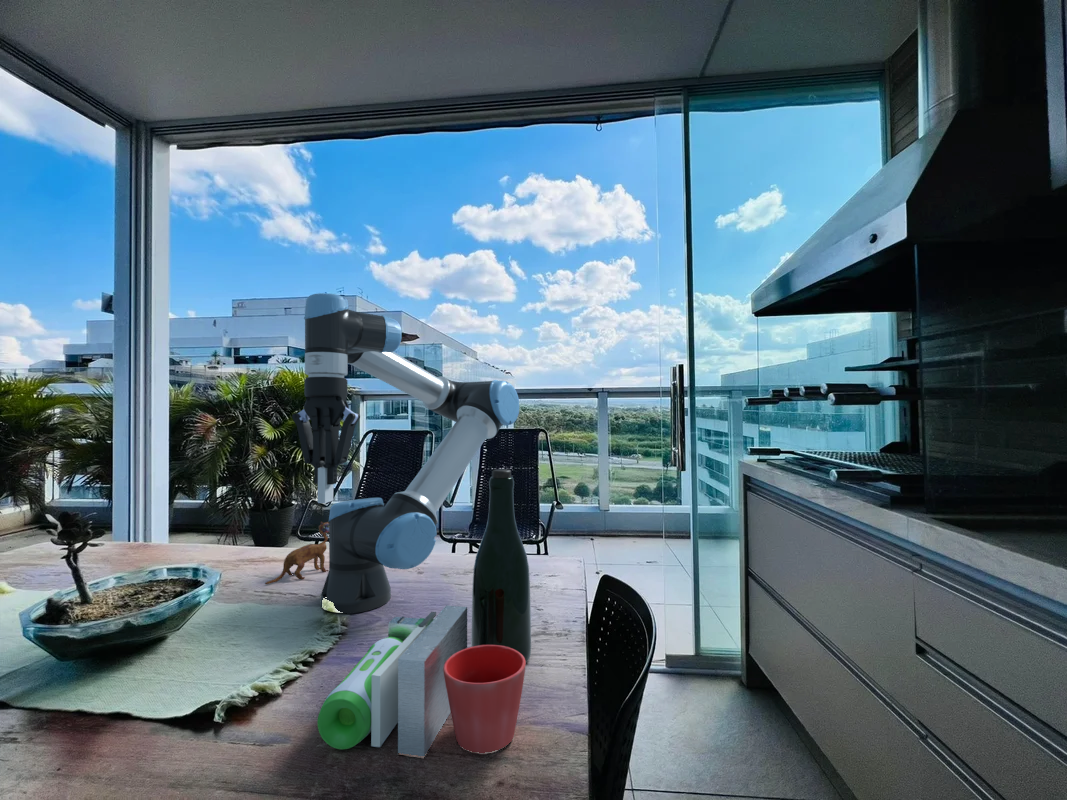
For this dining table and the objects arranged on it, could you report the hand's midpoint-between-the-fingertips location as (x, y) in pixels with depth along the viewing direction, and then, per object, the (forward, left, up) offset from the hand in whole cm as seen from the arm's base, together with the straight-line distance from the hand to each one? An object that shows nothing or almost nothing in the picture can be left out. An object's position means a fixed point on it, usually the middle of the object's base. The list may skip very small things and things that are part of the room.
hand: (325, 501), depth 93 cm
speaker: (+19, -18, -27) cm, 37 cm away
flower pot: (+37, -20, -27) cm, 50 cm away
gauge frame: (+24, -16, -26) cm, 39 cm away
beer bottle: (+34, 0, -27) cm, 43 cm away
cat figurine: (-29, +33, -27) cm, 51 cm away
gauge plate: (+24, -16, -26) cm, 38 cm away
